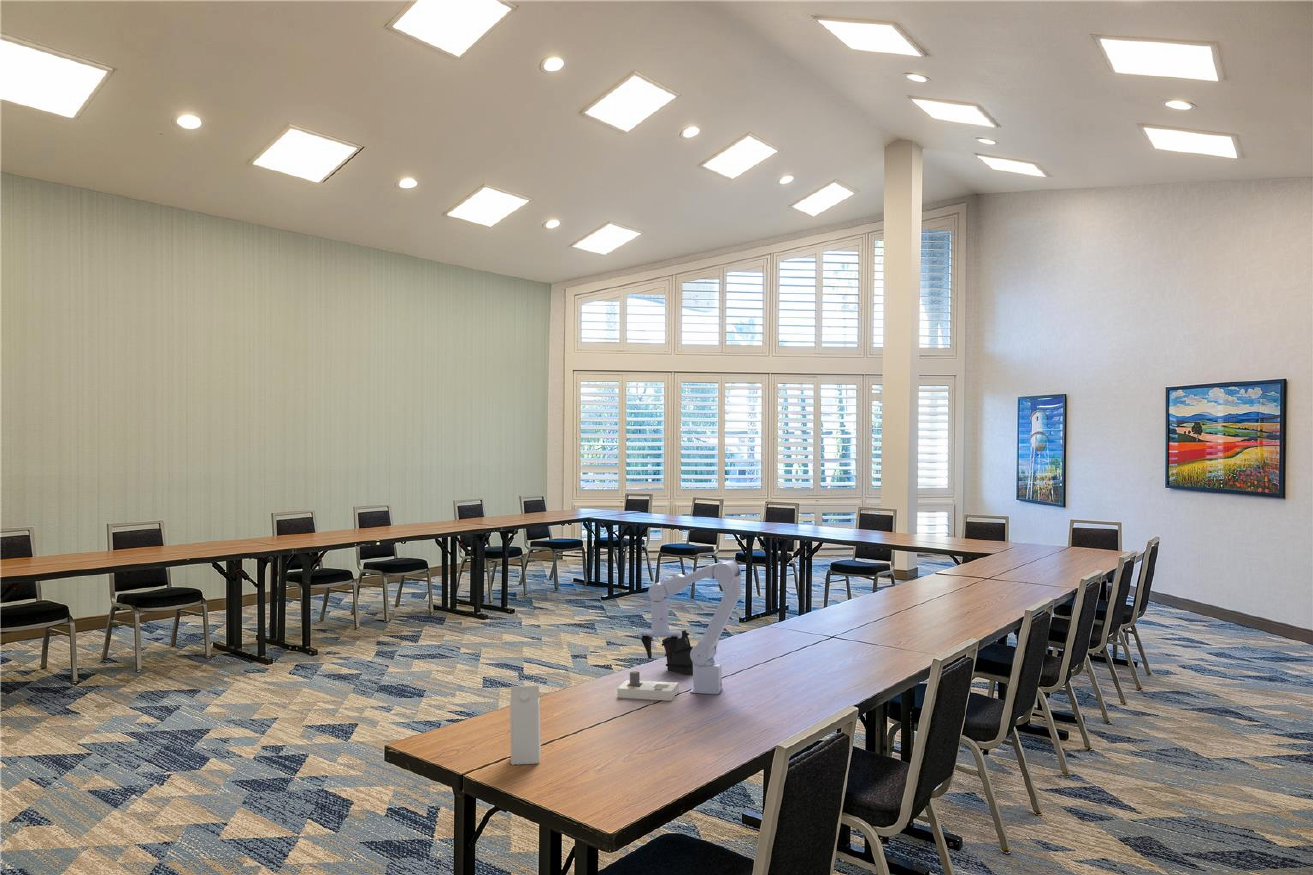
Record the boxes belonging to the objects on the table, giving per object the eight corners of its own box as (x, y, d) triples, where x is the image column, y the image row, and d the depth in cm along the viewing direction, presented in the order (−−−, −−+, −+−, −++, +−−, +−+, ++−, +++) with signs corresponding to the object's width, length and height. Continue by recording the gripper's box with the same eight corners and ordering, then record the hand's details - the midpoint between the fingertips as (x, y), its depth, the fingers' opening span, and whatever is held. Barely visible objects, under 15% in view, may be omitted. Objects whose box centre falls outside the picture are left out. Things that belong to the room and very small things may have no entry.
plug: (640, 692, 275) (640, 671, 276) (638, 695, 272) (638, 674, 272) (631, 692, 276) (631, 671, 276) (629, 695, 273) (628, 673, 273)
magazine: (694, 672, 293) (680, 631, 298) (670, 682, 302) (657, 642, 307) (701, 670, 296) (687, 629, 301) (677, 680, 304) (664, 640, 309)
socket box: (678, 691, 276) (678, 681, 276) (671, 700, 266) (671, 690, 266) (626, 688, 280) (626, 678, 280) (617, 697, 271) (617, 687, 271)
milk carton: (513, 755, 220) (512, 683, 221) (540, 753, 221) (539, 681, 221) (511, 765, 213) (509, 690, 214) (539, 763, 214) (537, 689, 214)
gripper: (636, 620, 281) (637, 660, 280) (678, 621, 277) (679, 662, 277) (641, 616, 287) (642, 655, 287) (682, 616, 284) (683, 657, 284)
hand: (660, 658), depth 283 cm, fingers open, 7 cm apart
